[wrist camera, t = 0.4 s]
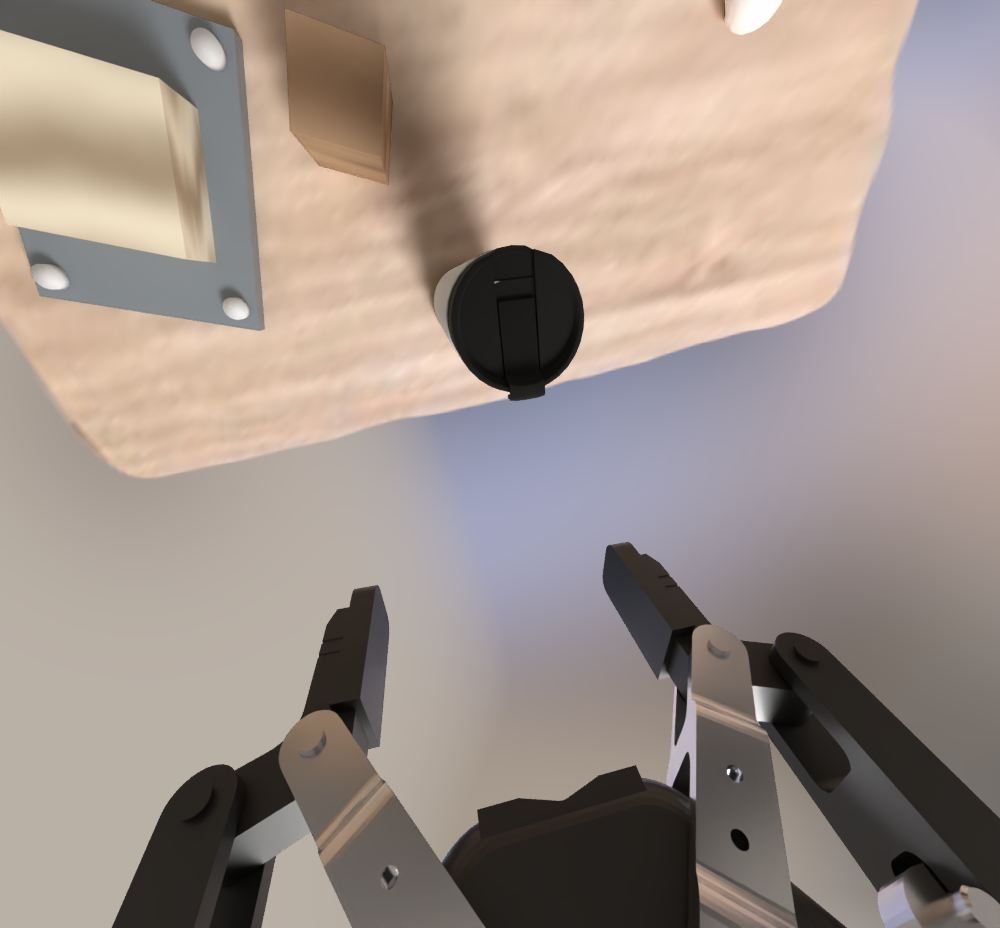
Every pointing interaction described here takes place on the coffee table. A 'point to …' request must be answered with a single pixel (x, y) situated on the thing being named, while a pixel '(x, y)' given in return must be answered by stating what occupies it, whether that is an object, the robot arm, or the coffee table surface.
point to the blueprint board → (226, 150)
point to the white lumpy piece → (748, 14)
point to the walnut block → (339, 97)
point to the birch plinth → (100, 153)
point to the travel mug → (512, 318)
